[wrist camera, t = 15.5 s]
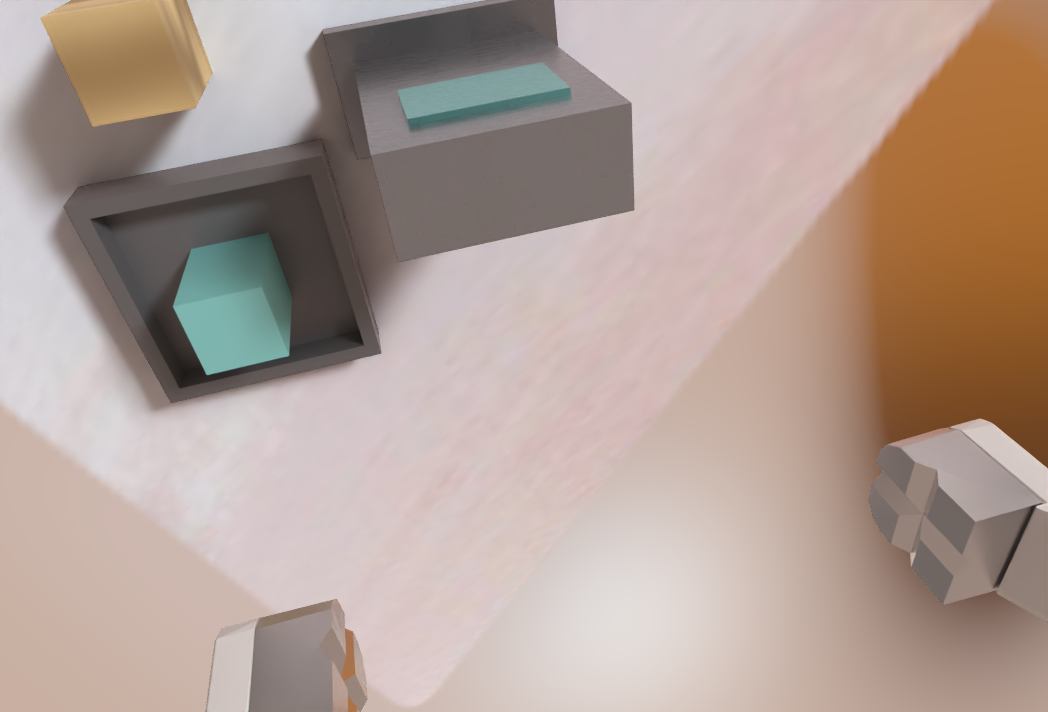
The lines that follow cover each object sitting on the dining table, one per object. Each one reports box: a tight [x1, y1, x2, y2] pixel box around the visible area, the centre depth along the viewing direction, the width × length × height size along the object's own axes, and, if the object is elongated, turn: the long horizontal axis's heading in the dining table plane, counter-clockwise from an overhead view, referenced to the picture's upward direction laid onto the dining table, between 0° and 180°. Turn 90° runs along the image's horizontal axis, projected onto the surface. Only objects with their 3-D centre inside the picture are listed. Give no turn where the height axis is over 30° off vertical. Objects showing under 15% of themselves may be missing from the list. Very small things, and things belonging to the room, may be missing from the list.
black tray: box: [64, 139, 381, 403], centre depth 38 cm, size 12×12×2 cm
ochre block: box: [40, 0, 213, 127], centre depth 30 cm, size 4×4×6 cm
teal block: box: [173, 233, 292, 375], centre depth 36 cm, size 4×4×6 cm
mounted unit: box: [323, 0, 634, 262], centre depth 30 cm, size 6×11×14 cm, turn 97°
